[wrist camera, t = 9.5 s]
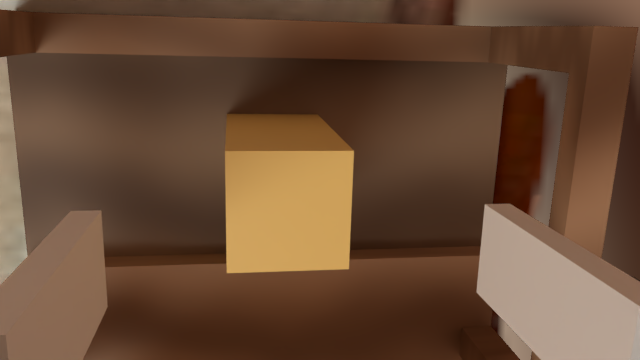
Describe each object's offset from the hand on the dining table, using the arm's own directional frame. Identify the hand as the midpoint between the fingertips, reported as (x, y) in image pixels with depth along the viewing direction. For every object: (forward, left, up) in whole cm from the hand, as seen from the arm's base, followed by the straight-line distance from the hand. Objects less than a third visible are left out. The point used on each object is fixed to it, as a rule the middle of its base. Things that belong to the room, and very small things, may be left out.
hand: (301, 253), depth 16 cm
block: (0, 0, -11) cm, 11 cm away
